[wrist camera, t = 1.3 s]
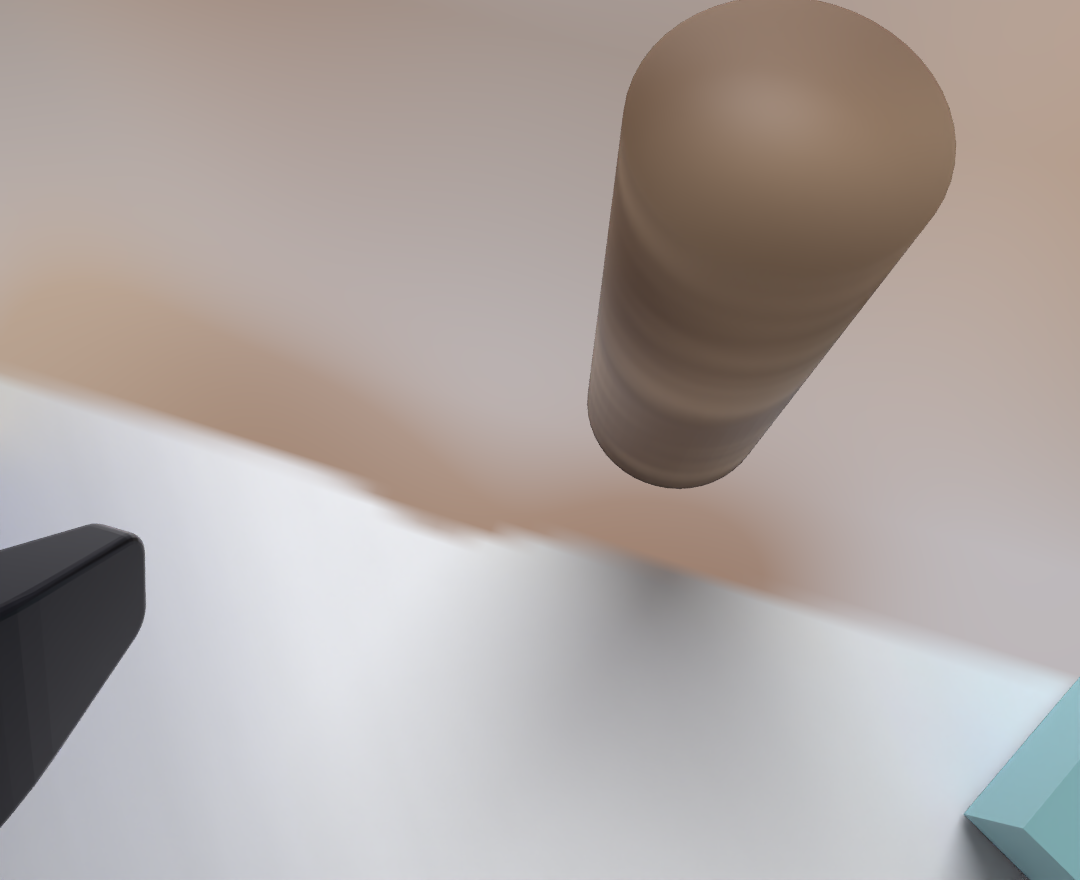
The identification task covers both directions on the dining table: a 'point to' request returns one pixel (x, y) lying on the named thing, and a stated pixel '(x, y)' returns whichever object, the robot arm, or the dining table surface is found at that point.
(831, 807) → the dining table surface
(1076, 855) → the socket block
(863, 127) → the walnut dowel
